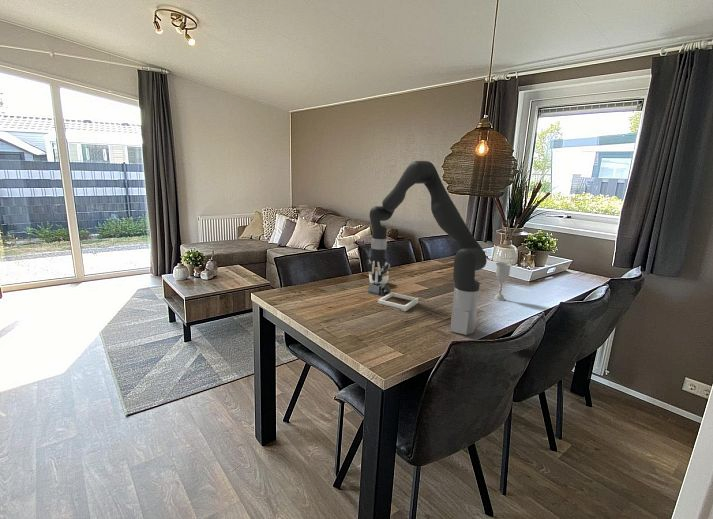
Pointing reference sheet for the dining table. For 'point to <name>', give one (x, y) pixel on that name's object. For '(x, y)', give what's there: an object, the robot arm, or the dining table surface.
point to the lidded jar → (384, 278)
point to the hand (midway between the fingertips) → (377, 281)
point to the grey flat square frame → (402, 307)
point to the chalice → (502, 277)
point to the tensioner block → (379, 289)
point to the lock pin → (376, 276)
